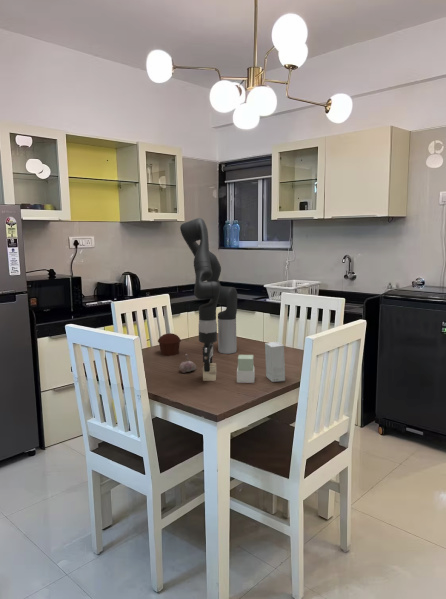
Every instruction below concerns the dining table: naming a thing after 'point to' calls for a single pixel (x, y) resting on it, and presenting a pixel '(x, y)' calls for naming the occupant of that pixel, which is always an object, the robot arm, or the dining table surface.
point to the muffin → (169, 344)
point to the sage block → (245, 363)
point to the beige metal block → (210, 373)
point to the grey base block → (246, 376)
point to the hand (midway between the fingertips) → (208, 368)
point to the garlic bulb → (187, 366)
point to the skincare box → (275, 361)
